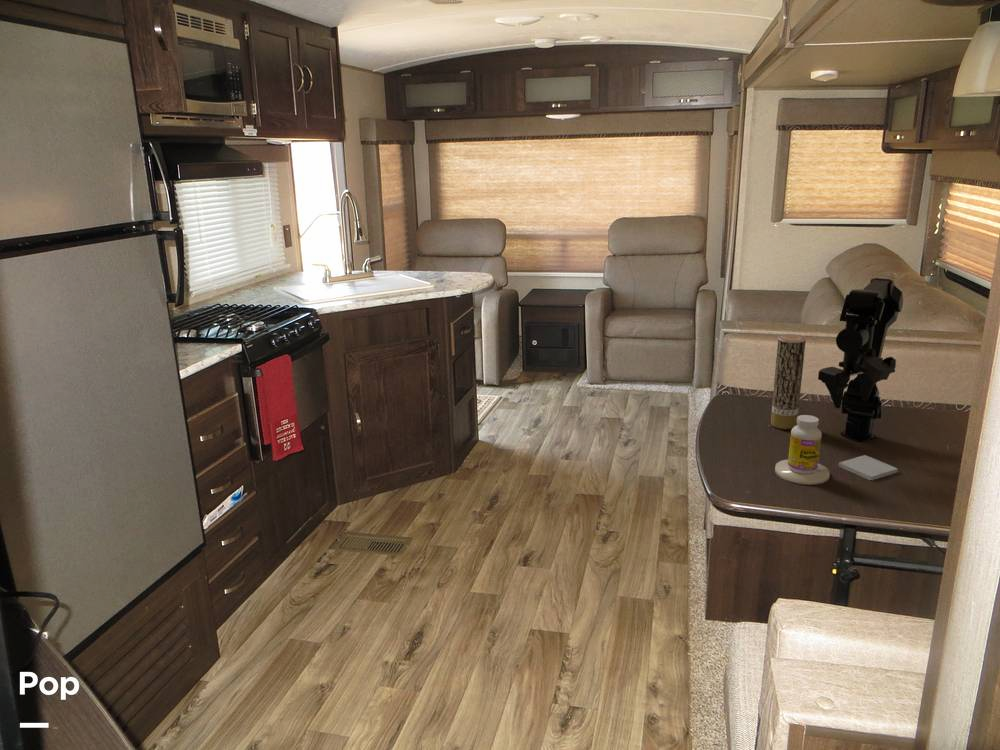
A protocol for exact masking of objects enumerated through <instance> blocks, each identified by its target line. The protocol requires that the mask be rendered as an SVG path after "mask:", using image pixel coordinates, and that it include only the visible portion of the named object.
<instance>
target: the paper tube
mask: <svg viewBox="0 0 1000 750" xmlns="http://www.w3.org/2000/svg"><path fill="white" fill-rule="evenodd" d="M806 342H807V341H806V337H805V336H803V335H800V334H793V333H792V334H790V333H789V334H786V333H785V334H779V335H778V338H777V345H776V346H777V349H776V358H775V369H774V382H773V392H772V393H773V394H772V402H771V403H772V405H771V415H770V424H771V426H772V427H774V428H777V429H780V430H792V428H793V427H795V426H797V417H798V416H799V409H800V401H801V390H802V389H801V388H802V380H803V371H804V361H805V359H804V358H805V351H806V350H805V349H806Z"/></svg>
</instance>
